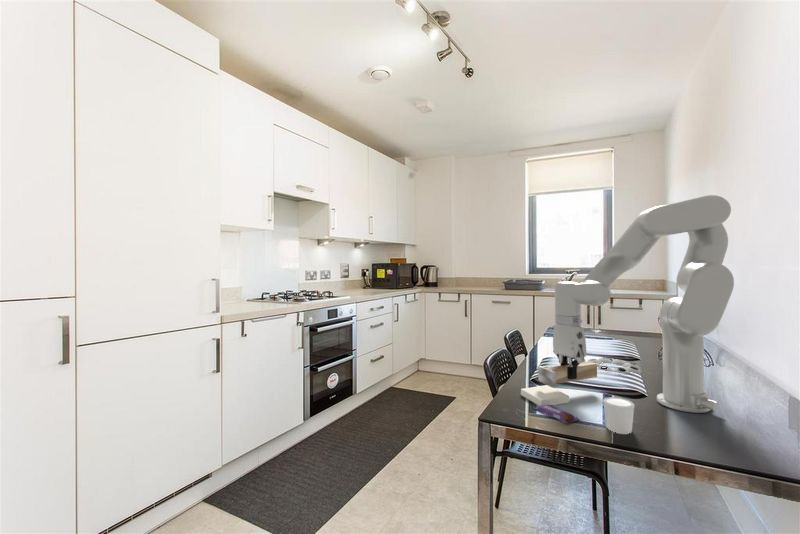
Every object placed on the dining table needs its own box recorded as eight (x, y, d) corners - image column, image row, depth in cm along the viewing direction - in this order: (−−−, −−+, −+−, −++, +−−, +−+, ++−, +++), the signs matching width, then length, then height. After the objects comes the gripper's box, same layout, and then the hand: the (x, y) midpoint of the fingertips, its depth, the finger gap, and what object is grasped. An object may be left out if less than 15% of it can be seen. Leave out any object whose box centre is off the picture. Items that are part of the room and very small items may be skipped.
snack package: (533, 404, 106) (545, 401, 108) (533, 411, 106) (545, 408, 108) (567, 420, 96) (580, 416, 98) (567, 427, 96) (580, 423, 98)
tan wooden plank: (602, 379, 116) (602, 365, 116) (553, 387, 110) (553, 372, 110) (585, 372, 123) (585, 359, 122) (538, 379, 117) (538, 366, 117)
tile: (569, 395, 110) (541, 400, 107) (569, 403, 110) (541, 407, 107) (547, 385, 120) (520, 388, 117) (547, 391, 120) (521, 395, 117)
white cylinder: (625, 423, 96) (625, 396, 96) (640, 435, 89) (640, 407, 89) (598, 422, 97) (598, 396, 96) (611, 435, 90) (610, 407, 90)
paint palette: (627, 361, 152) (627, 356, 152) (653, 376, 132) (653, 371, 132) (577, 360, 155) (577, 355, 155) (596, 375, 135) (596, 370, 135)
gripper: (597, 323, 109) (598, 384, 110) (559, 315, 125) (560, 368, 125) (577, 325, 107) (578, 387, 107) (541, 317, 122) (542, 371, 123)
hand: (568, 376), depth 116 cm, fingers closed on tan wooden plank, 2 cm apart
